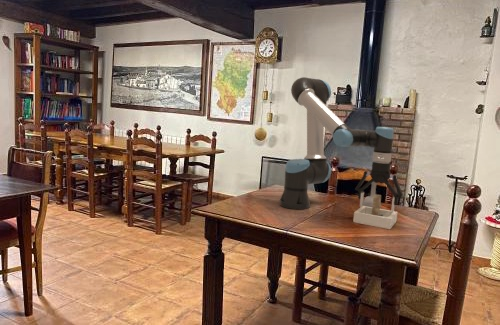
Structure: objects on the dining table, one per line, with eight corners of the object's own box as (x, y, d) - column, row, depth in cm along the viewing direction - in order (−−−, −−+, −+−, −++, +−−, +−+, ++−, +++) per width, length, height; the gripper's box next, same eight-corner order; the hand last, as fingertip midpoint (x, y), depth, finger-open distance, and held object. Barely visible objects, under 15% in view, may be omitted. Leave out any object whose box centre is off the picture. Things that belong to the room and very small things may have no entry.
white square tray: (353, 222, 164) (354, 212, 163) (362, 214, 177) (362, 205, 177) (390, 229, 156) (391, 219, 156) (396, 221, 169) (397, 211, 169)
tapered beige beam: (371, 219, 165) (373, 195, 164) (373, 218, 169) (375, 194, 168) (377, 221, 164) (379, 196, 163) (378, 219, 168) (381, 195, 166)
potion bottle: (381, 214, 181) (385, 178, 179) (362, 212, 183) (366, 176, 180) (379, 210, 189) (383, 175, 187) (361, 208, 191) (364, 173, 189)
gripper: (350, 159, 166) (346, 205, 169) (410, 166, 154) (405, 216, 156) (355, 158, 173) (351, 202, 175) (413, 164, 160) (407, 212, 163)
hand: (376, 209), depth 166 cm, fingers open, 13 cm apart
